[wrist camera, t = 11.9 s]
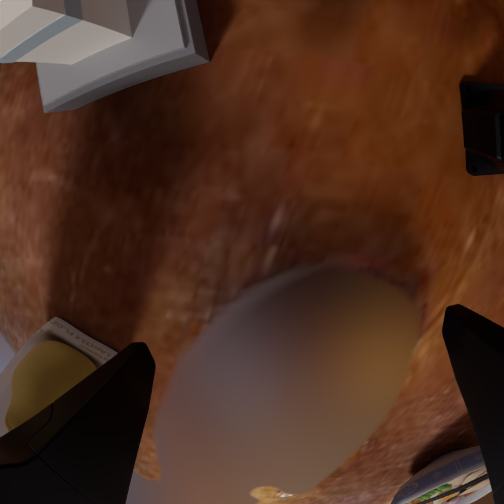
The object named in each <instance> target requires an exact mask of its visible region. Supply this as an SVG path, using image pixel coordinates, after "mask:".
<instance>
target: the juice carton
mask: <svg viewBox="0 0 504 504" xmlns="http://www.w3.org/2000/svg"><path fill="white" fill-rule="evenodd" d="M116 354H118V353H117V352H116V351H114V350H113V349H111V348H109V347H107V346H105V345H104V344H102V343H100V342H98V341H96V340H94V339H93V338H91V337H89V336H87V335H86V334H84V333H82V332H81V331H79V330H78V329H76V328H75V327H73V326H72V325H70V324H69V323H67V322H65V321H64V320H62V319H60V318H59V317H54V318H53V319H51V320H50V321H49V322H47V323H46V324H45V325H44V326H42V327H41V328H40V329H39V330H38V331H36V332H35V333H34V334H33V335H32V336H31V337H30V339H29V340H28V341H27V342H26V343H25V344H24V345H23V347H22V348H21V349H20V350H19V351H18V353H17V354H16V355H15V356H14V358H13V359H12V360H11V361H10V363H9V364H8V365H7V366H6V368H5V369H4V370H3V371H2V373H1V374H0V437H1V436H3V435H5V434H6V433H8V432H9V431H11V430H13V429H14V428H16V427H17V426H19V425H21V424H22V423H24V422H25V421H27V420H28V419H30V418H31V417H33V416H34V415H36V414H37V413H39V412H40V411H41V410H43V409H44V408H45V407H47V406H48V405H49V404H51V403H52V402H53V403H54V401H55V400H56V399H58V398H59V397H60V396H62V395H63V394H64V393H66V392H67V391H68V390H70V389H71V388H72V387H74V386H75V385H76V384H78V383H79V382H80V381H82V380H83V379H84V378H86V377H87V376H88V375H90V374H91V373H92V372H94V371H95V370H96V369H98V368H99V367H100V366H102V365H103V364H104V363H106V362H107V361H108V360H110V359H111V358H112V357H114V356H115V355H116Z"/></svg>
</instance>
